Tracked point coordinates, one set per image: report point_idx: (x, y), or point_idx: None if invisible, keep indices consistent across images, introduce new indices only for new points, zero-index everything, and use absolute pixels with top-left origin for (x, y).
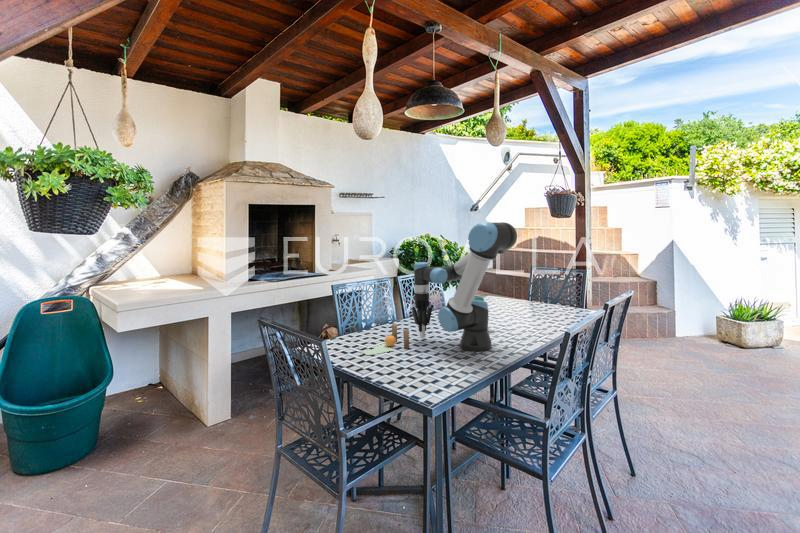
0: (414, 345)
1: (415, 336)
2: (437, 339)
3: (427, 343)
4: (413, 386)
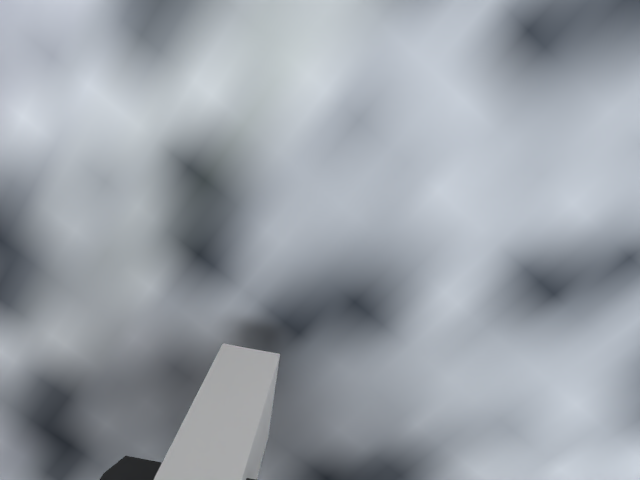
0: (29, 424)
1: (354, 14)
2: (518, 445)
3: None
4: None
